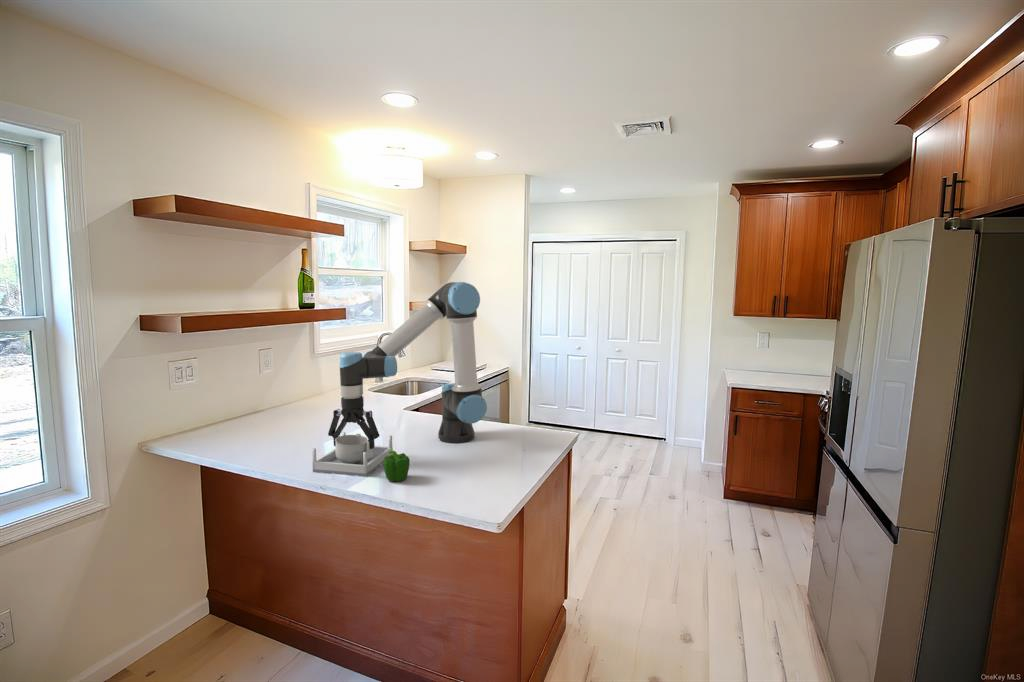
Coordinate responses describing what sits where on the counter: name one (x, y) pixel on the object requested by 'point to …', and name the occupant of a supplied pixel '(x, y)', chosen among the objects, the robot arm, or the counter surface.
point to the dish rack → (361, 468)
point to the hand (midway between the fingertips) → (354, 456)
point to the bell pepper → (396, 466)
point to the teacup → (350, 448)
